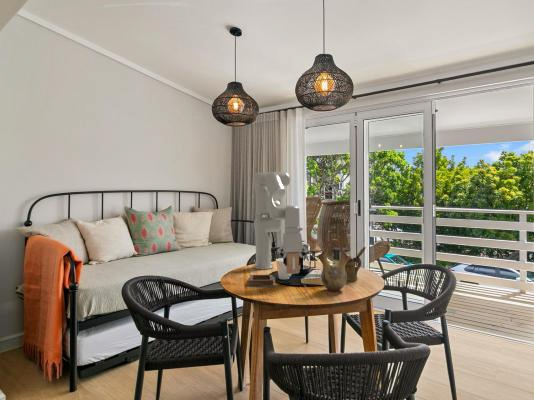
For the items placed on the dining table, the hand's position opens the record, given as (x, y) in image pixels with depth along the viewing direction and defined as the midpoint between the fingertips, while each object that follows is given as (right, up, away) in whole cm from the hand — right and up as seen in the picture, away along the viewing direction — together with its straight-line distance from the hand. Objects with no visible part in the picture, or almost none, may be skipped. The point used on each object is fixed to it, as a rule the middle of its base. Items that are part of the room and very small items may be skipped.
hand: (292, 264), depth 170 cm
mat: (0, -10, 0) cm, 10 cm away
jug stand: (-16, -10, 0) cm, 19 cm away
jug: (0, -4, -1) cm, 4 cm away
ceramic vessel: (+19, -11, -9) cm, 24 cm away
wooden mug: (+33, -10, +9) cm, 35 cm away
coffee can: (+31, -10, +26) cm, 41 cm away
